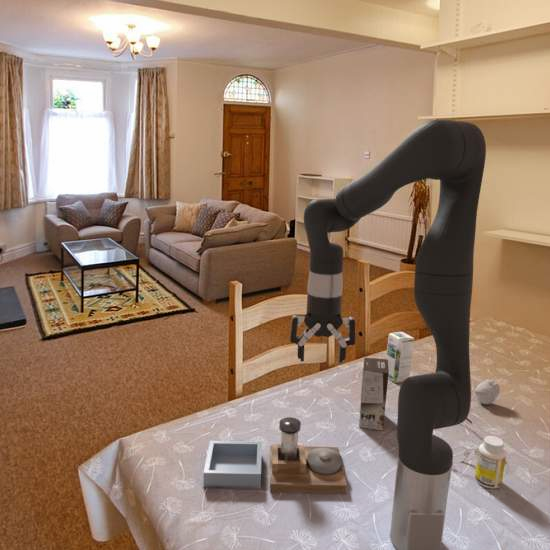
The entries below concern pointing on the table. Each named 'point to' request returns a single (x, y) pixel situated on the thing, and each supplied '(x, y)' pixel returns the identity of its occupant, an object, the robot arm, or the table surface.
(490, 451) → the supplement bottle
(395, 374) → the syrup box
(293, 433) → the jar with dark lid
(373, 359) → the coffee box
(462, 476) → the table surface
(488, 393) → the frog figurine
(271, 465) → the block
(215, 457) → the tray
